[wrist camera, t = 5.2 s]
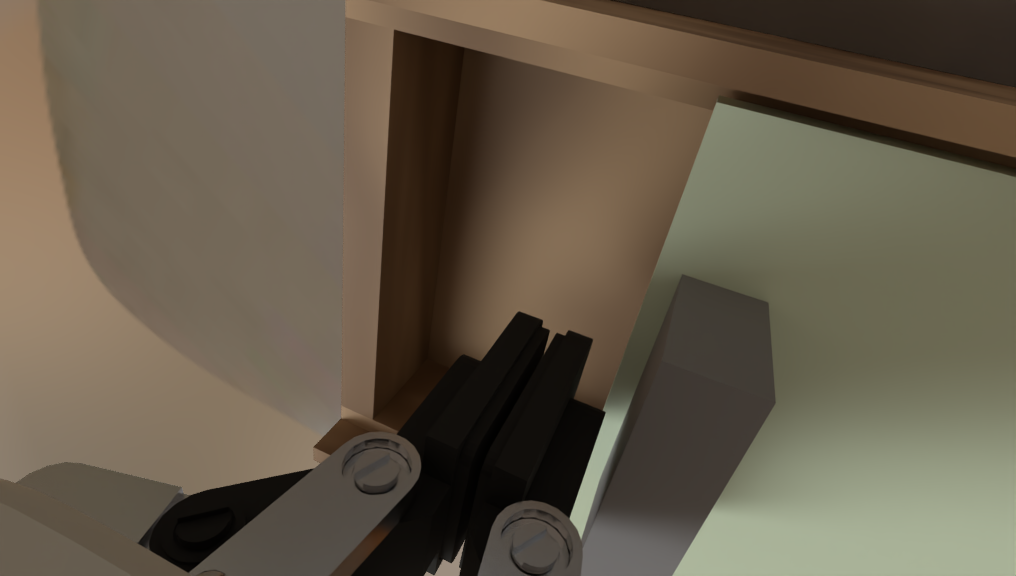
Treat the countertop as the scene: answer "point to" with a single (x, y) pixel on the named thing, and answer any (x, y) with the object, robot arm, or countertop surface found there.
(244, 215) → the countertop surface
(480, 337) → the wooden drawer box
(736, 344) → the lid
